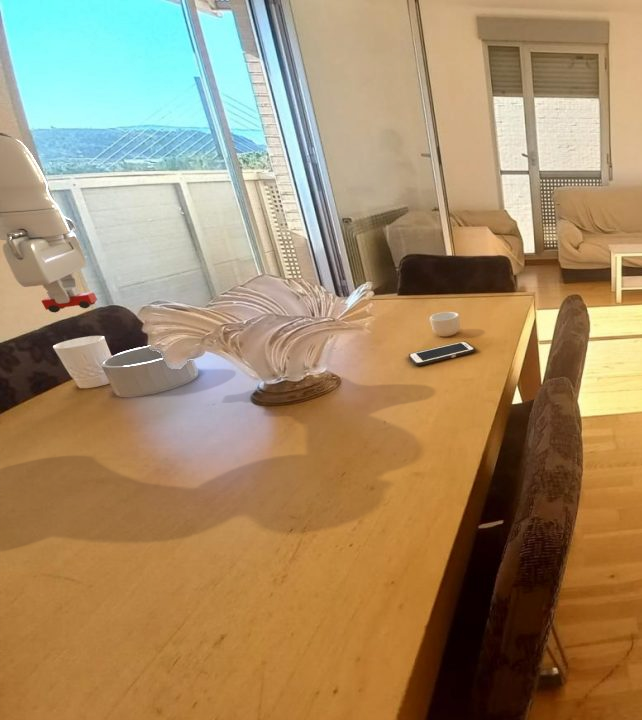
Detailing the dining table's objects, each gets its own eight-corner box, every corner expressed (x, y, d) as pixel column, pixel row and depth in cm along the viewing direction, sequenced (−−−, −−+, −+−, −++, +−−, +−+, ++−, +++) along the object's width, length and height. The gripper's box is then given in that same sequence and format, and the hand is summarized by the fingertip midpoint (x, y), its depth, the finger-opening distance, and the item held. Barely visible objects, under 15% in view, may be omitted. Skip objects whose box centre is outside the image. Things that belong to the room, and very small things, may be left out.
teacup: (465, 334, 133) (462, 316, 130) (437, 341, 129) (433, 322, 126) (454, 326, 140) (451, 308, 138) (427, 331, 136) (424, 313, 134)
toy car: (47, 313, 90) (36, 293, 88) (54, 309, 93) (44, 289, 91) (93, 307, 93) (83, 287, 91) (99, 303, 96) (90, 284, 94)
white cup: (127, 379, 110) (108, 339, 106) (79, 393, 104) (57, 350, 100) (117, 372, 114) (98, 333, 110) (70, 385, 108) (48, 344, 104)
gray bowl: (105, 403, 99) (90, 372, 96) (125, 379, 110) (111, 351, 107) (193, 386, 106) (181, 357, 103) (202, 365, 117) (192, 338, 114)
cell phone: (408, 357, 117) (407, 354, 117) (465, 343, 125) (465, 340, 125) (416, 367, 112) (415, 363, 111) (476, 352, 120) (476, 348, 119)
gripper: (31, 230, 80) (72, 309, 85) (76, 220, 96) (108, 286, 101) (-25, 235, 77) (21, 316, 82) (31, 223, 93) (66, 291, 98)
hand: (69, 299), depth 92 cm, fingers closed on toy car, 3 cm apart
